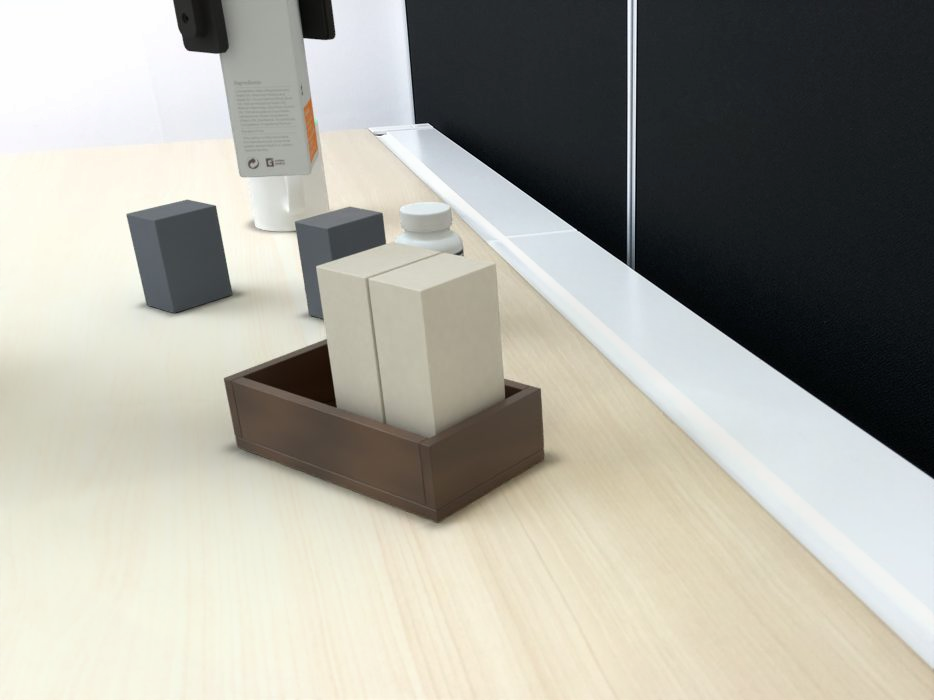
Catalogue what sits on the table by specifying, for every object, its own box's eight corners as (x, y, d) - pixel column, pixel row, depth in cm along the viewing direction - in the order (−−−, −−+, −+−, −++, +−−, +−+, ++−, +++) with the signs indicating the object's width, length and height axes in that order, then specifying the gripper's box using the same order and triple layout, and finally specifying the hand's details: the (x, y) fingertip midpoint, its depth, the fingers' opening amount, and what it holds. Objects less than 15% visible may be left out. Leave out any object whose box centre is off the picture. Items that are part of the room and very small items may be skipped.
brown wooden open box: (236, 447, 71) (222, 377, 68) (350, 397, 78) (340, 332, 75) (437, 523, 62) (429, 446, 59) (545, 459, 69) (541, 388, 66)
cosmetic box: (313, 176, 65) (281, -47, 60) (239, 180, 65) (199, -46, 59) (321, 156, 71) (293, -51, 65) (252, 158, 70) (217, -50, 64)
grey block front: (308, 315, 93) (294, 221, 89) (361, 296, 97) (349, 206, 94) (341, 324, 91) (327, 228, 87) (393, 304, 95) (383, 212, 92)
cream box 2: (392, 474, 65) (367, 278, 60) (461, 437, 70) (444, 252, 64) (441, 491, 63) (420, 290, 58) (509, 453, 68) (496, 262, 62)
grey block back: (146, 305, 96) (125, 213, 92) (205, 287, 100) (187, 199, 96) (174, 313, 94) (154, 220, 90) (233, 294, 98) (216, 205, 94)
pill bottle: (390, 332, 89) (376, 212, 85) (425, 312, 94) (413, 197, 89) (448, 340, 87) (437, 218, 83) (481, 319, 92) (472, 202, 87)
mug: (346, 234, 116) (333, 132, 111) (268, 244, 113) (250, 139, 108) (322, 209, 125) (309, 114, 120) (249, 217, 122) (232, 120, 117)
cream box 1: (343, 456, 67) (315, 265, 62) (413, 422, 72) (392, 241, 66) (390, 473, 65) (365, 277, 60) (458, 437, 70) (441, 251, 64)
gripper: (290, -299, 64) (332, 28, 73) (-3, -347, 52) (88, 56, 60) (382, -312, 61) (414, 34, 69) (90, -367, 48) (173, 66, 56)
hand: (262, 42), depth 64 cm, fingers closed on cosmetic box, 7 cm apart
